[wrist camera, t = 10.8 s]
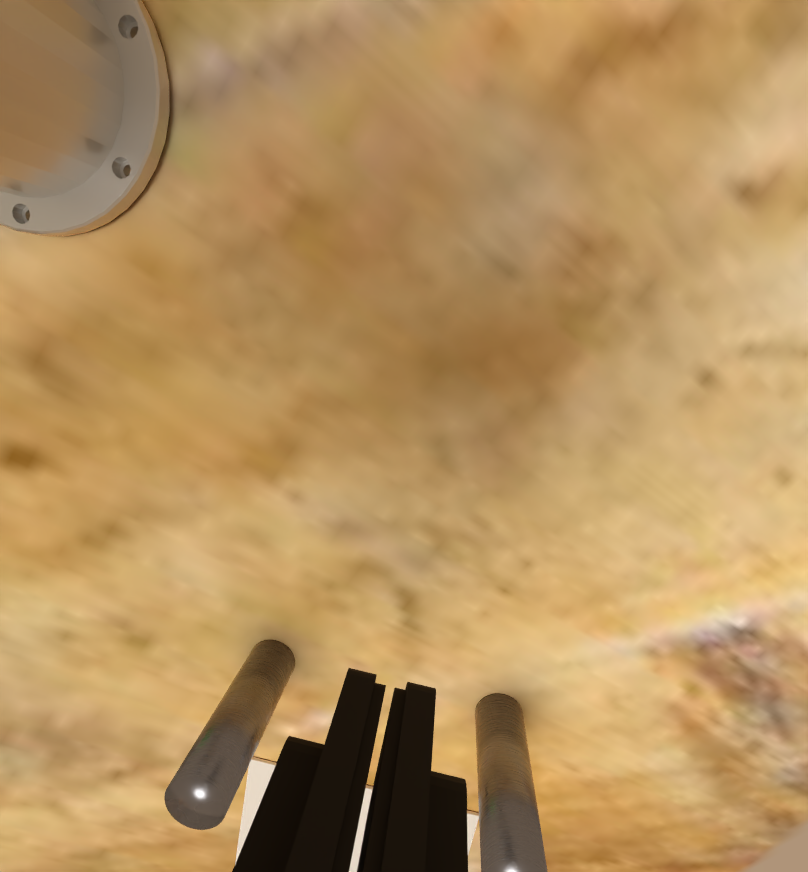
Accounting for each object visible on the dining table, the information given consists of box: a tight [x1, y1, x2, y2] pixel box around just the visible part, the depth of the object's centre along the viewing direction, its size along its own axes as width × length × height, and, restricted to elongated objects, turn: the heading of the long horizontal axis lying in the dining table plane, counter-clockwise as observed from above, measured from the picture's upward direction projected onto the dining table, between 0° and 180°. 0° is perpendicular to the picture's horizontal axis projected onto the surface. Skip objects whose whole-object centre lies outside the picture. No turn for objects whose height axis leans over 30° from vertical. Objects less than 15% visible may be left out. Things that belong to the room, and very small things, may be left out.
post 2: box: [475, 694, 547, 872], centre depth 25 cm, size 3×3×9 cm
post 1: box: [165, 640, 295, 830], centre depth 25 cm, size 3×3×9 cm
